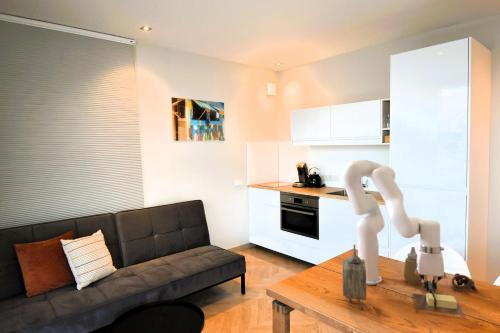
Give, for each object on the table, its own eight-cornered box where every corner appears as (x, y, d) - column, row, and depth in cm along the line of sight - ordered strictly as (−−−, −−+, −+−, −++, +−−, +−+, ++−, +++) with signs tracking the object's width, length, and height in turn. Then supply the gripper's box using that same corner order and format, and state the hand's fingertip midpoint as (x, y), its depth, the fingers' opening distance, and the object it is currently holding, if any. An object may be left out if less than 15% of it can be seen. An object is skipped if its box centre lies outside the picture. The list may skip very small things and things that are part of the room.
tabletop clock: (366, 312, 124) (366, 251, 122) (343, 309, 126) (342, 250, 125) (364, 295, 138) (363, 240, 136) (343, 293, 140) (342, 239, 139)
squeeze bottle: (421, 281, 149) (422, 245, 148) (423, 288, 142) (423, 250, 141) (403, 279, 153) (403, 243, 151) (403, 286, 145) (403, 248, 144)
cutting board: (417, 312, 123) (417, 309, 123) (412, 295, 136) (412, 293, 136) (464, 318, 117) (464, 315, 117) (454, 301, 130) (454, 298, 130)
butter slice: (428, 305, 125) (428, 298, 125) (426, 299, 130) (426, 292, 130) (434, 306, 124) (434, 299, 124) (431, 300, 129) (431, 293, 129)
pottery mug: (483, 297, 134) (478, 283, 132) (462, 304, 136) (455, 291, 134) (467, 278, 145) (461, 265, 143) (447, 286, 147) (441, 273, 145)
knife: (434, 305, 123) (434, 299, 122) (425, 285, 139) (425, 280, 139) (439, 306, 122) (439, 299, 122) (430, 286, 139) (430, 280, 139)
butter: (436, 306, 124) (436, 299, 124) (433, 300, 129) (433, 293, 129) (456, 309, 122) (456, 302, 121) (453, 303, 126) (453, 296, 126)
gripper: (449, 247, 134) (449, 288, 135) (408, 245, 140) (408, 284, 141) (453, 253, 127) (453, 296, 128) (410, 250, 133) (411, 291, 134)
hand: (430, 289), depth 135 cm, fingers closed on knife, 2 cm apart
